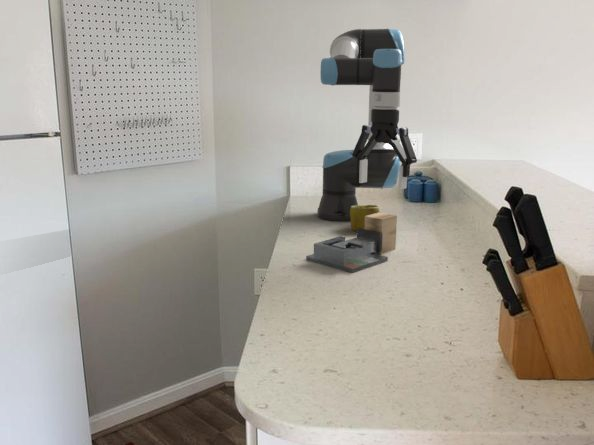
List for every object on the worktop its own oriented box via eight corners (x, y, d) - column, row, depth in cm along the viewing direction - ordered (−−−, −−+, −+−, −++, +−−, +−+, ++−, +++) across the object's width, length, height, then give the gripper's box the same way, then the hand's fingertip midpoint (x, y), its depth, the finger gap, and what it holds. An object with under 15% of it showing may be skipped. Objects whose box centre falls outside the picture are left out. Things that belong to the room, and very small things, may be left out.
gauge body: (306, 259, 159) (306, 241, 158) (342, 248, 170) (342, 231, 169) (352, 273, 148) (352, 253, 147) (387, 260, 159) (388, 242, 158)
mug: (383, 230, 184) (375, 199, 184) (351, 238, 186) (343, 207, 187) (387, 228, 196) (379, 199, 196) (357, 235, 198) (350, 207, 199)
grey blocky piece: (328, 254, 159) (328, 236, 158) (359, 245, 169) (359, 227, 167) (359, 263, 152) (360, 243, 151) (390, 253, 161) (390, 234, 160)
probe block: (363, 250, 169) (364, 215, 167) (378, 245, 174) (379, 212, 171) (380, 254, 165) (382, 219, 163) (395, 249, 170) (396, 215, 167)
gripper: (341, 106, 166) (339, 181, 171) (416, 110, 149) (412, 193, 154) (358, 106, 171) (355, 178, 176) (432, 109, 154) (428, 189, 159)
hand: (382, 185), depth 165 cm, fingers open, 13 cm apart
